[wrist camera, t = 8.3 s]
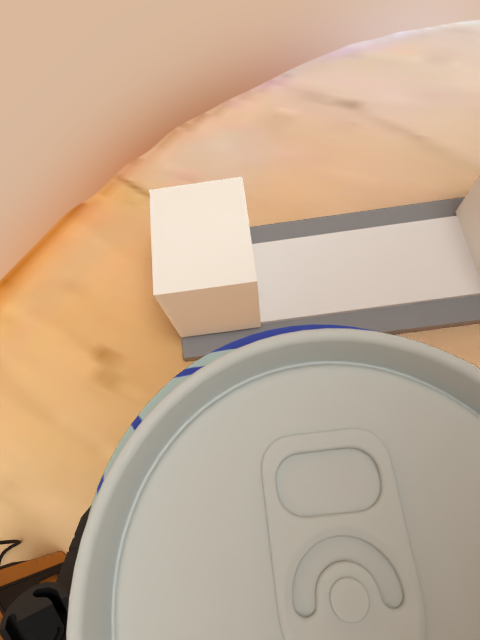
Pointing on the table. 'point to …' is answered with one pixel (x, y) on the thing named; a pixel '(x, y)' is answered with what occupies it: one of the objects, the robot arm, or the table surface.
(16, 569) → the multimeter
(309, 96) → the table surface
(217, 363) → the beer can
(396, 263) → the rail board
